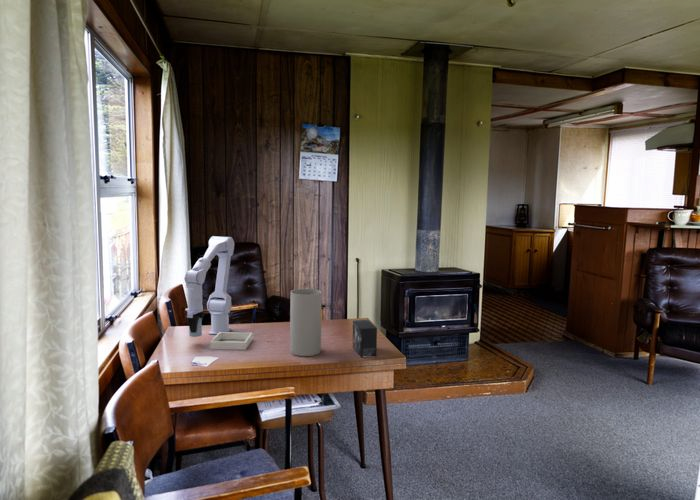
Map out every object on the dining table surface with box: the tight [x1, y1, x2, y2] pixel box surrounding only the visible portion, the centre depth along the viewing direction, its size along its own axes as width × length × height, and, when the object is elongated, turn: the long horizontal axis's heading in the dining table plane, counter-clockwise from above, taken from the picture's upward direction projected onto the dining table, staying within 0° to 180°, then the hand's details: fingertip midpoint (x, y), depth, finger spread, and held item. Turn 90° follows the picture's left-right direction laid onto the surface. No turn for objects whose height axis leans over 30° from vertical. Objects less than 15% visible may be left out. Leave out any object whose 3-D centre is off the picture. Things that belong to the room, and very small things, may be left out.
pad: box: [224, 340, 243, 342], centre depth 211 cm, size 7×7×1 cm
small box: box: [352, 319, 378, 358], centre depth 203 cm, size 13×7×12 cm, turn 15°
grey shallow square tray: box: [209, 331, 254, 351], centre depth 210 cm, size 15×15×3 cm
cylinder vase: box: [289, 288, 323, 357], centre depth 201 cm, size 12×12×25 cm
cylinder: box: [188, 318, 203, 338], centre depth 208 cm, size 5×5×7 cm
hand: (195, 330), depth 209 cm, fingers closed on cylinder, 5 cm apart
